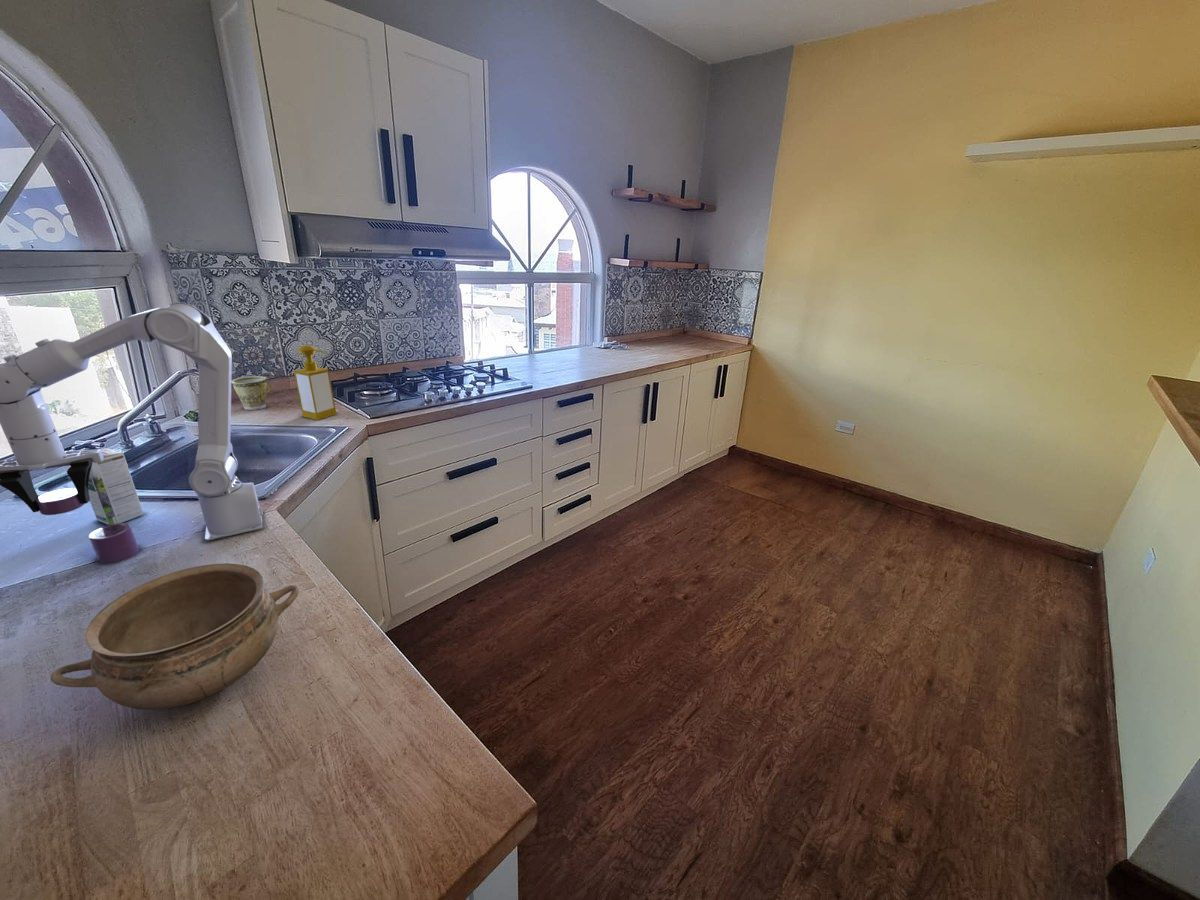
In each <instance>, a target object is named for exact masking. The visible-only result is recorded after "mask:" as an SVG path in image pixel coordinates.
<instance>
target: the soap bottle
mask: <svg viewBox="0 0 1200 900" xmlns="http://www.w3.org/2000/svg"><path fill="white" fill-rule="evenodd" d="M297 351H298V352H300V354H301V356H305V361H304V362H303V367H304V368H300V369H294V370H293V376H294V379H295V385H296V389H297V390H296V391H297V394H298V400H299V405H300V409H301V415H302V417H303V418H307V419H312V420H316V421H319V420H322V419H326V418H329V417H331V416H335V415H337V409H336V403H335V399H334V392H333V387H332V381H331V377H330V376H331V375H330V371H329V368H324V367H319V366H318V365H317V361H315V360H313V357H312V356H313V355H316V353H315V352H319V353H322V354H324V355H328V353H327V352H326V351H323V350H321V349H317V348H316V347H315V346H313V345H308V344H307V345H303V346H300V347H298V349H297Z"/></svg>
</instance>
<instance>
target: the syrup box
mask: <svg viewBox="0 0 1200 900" xmlns="http://www.w3.org/2000/svg"><path fill="white" fill-rule="evenodd" d="M100 449H101V452H102V454H103V457H104V459H103V461H102V462H99V463H94V462H93V464H92V467H91V471H90V476H89V497H90V500H89V503H90V505H91V508H92V510H93V513H94V515H95V518H96V520H97V521H98V522H101V523H103V524H106V525H107V526H108V525H112V524H119V523H126V522H128V521H130V520H133V519H135V518H138V517H140V516H143V515H144V510H143V508H142V504H141V501H140V499H139V495H138V492H137V489H136V486H135V484H134V480H133V478H132V474H131V472H130V469H129V465H128V462H127V460H126V457H125V453H124V452H123V451H119V450H116V449H115V450H114V449H112V448H107V447H106V448H100Z"/></svg>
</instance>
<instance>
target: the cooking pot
mask: <svg viewBox="0 0 1200 900" xmlns="http://www.w3.org/2000/svg"><path fill="white" fill-rule="evenodd" d="M264 583H265V582H264V578H263V575H262V574H261V573H260V571H258V569H257V570H256V569H255V568H254V567H252V566H248V565H246V564H240V563H229V562H228V563H227V562H225V563H224V562H223V563H211V564H204V565H199V566H198V565H197V566H193V567H189V568H185V569H179V570H177V571H173V572H171V573H166V574H165V575H161V576H159V577H156V578H154V579H152V580H149V581H147V582H144V583H142V584H141V585H138V586H136V587H134V588H132V589H130V590H129V591H127V592H126V593H123V594H122V595H119V596H118V597H117V598H116V599H114V600H113V601H111V602H110V603H108V604H107V605H106V606H105V607H103V608H102V610H100V611H99V612H98V613H97V614H96V615H95V616H94V618H92V620H91V621H90V623H89V624H88V626H87V628H86V631H85V635H84V637H85V638H84V639H85V642H86V645H87V646H88V647H89V649H90V650H92V652H91V658H89V659H86V660H82V661H79V662H74V663H70V664H67V665H63V666H60V667H57V668H56V669H54V671H52V673H51V674H50V681H51V682H52V683H53V684H55V685H56V686H61V687H66V688H97V689H98V691H99V692H100V693H101V694H102V695H103V696H104V697H105V698H107V699H109V700H110V701H112V702H114V703H115V704H117V705H119V706H122V707H127V708H131V709H135V710H146V711H154V710H155V711H156V710H167V709H172V708H177V707H182V706H185V705H188V704H192V703H196V702H199V701H201V700H205V698H208V697H211V696H213V695H215V694H216V693H219V692H221V691H223V690H224V689H226V688H228V687H230V686H231V685H233V684H234V683H236V682H238V681H239V680H240V679H242V678H243V677H244V676H246V675H247V674H248V673H249V672H250V671H251V670H252V669H253V668H255V667H256V666H257V665H258V664H259V662H260V661H262V659H263V658H264V657H265V656H266V654H267V652H269V650H270V648H271V646H272V645H273V642H274V640H275V638H276V635H277V632H278V630H279V621H280V615H281V614H282V613H283V612H285V610H286V609H288V608H289V607H290V606H291V605H293V603H294V602H295V600H296V599H297V598H298V595H299V593H300V589H299V586H297V585H295V584H291V585H287V586H285V587H283V588H281V589H278V590H275V591H271V592H269V591H268V590H267V589H266V588H265V586H264ZM289 593H290V594H289ZM287 594H289V596H288V597H287V598H286V599H285V600H284V601H282V602H281V603H276V602H277V601H278V600H280V599H281V598H282V597H284V596H285V595H287ZM87 670H88V671H90V670H91V674H90V675H88V676H83V677H77V678H75V677H67V676H63V675H65V674H69V673H73V672H80V671H87Z"/></svg>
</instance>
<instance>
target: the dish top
mask: <svg viewBox="0 0 1200 900" xmlns="http://www.w3.org/2000/svg"><path fill="white" fill-rule="evenodd" d="M35 502H36V504H37V506H38V508H39V513H40V514H41V515H44V516H55V515H60V514H65V513H69V512H73V511H75V510H77V509H80V508H81V507H83V506H84V505H85V504H82V503H81V501H80V499H79V496H78V493H77V490H76V487H70V488H69V487H68V488H59V489H56V490H51V491H49V492H45V493H43V494H41V495H38V497H37V498H36V499H35Z"/></svg>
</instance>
